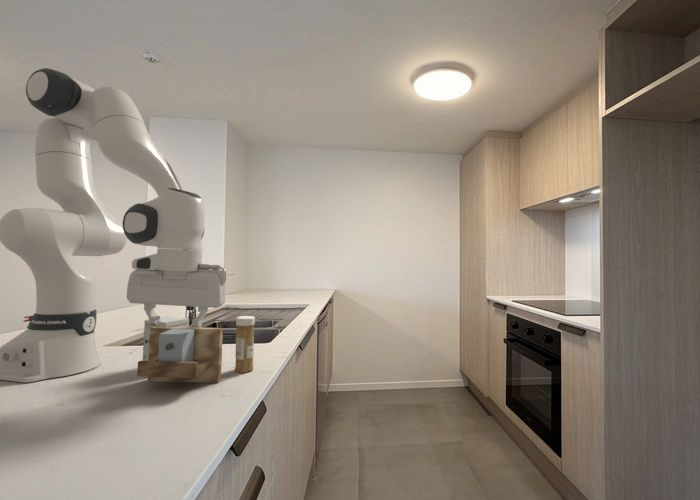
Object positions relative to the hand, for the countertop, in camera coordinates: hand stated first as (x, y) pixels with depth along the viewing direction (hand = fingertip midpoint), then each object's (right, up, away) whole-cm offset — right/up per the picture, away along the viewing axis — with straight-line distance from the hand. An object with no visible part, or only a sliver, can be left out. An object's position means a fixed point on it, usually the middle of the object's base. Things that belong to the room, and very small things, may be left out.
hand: (175, 325), depth 72 cm
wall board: (0, -13, 0) cm, 13 cm away
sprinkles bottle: (+11, -14, +11) cm, 21 cm away
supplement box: (-9, -14, +11) cm, 20 cm away
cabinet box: (0, -8, 0) cm, 8 cm away
